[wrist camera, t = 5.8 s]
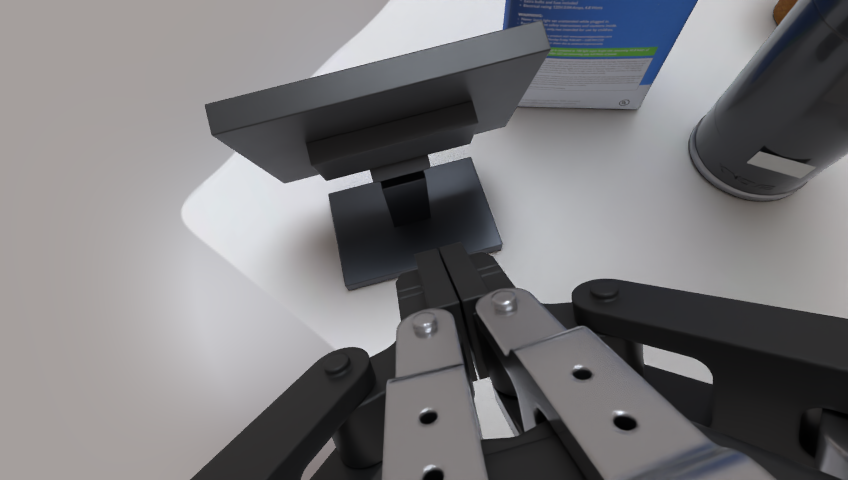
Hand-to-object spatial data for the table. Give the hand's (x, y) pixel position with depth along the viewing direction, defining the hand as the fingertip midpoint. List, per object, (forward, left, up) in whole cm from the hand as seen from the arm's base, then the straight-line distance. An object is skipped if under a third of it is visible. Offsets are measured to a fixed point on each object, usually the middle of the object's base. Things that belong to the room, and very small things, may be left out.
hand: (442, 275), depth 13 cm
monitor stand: (-8, -9, -20) cm, 23 cm away
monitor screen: (-10, -11, -14) cm, 20 cm away
